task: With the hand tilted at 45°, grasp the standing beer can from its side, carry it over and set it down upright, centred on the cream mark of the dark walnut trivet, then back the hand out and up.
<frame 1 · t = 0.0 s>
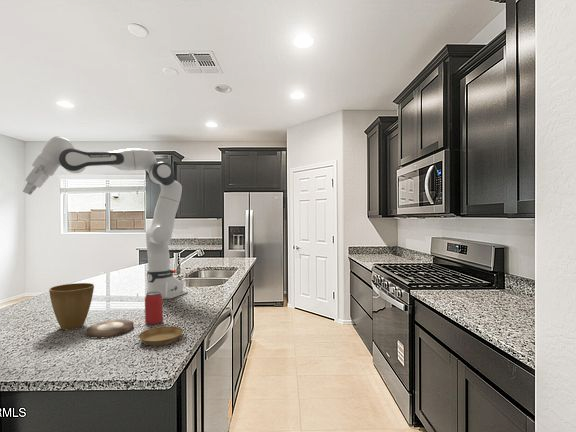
hand: (26, 193, 150), 54 cm above the counter, tool tilted 30°, fingers open, 8 cm apart
plant pot: (73, 327, 131), on the counter
walnut trivet: (110, 330, 127), on the counter
beer can: (154, 323, 135), on the counter
plant saucer: (161, 340, 117), on the counter
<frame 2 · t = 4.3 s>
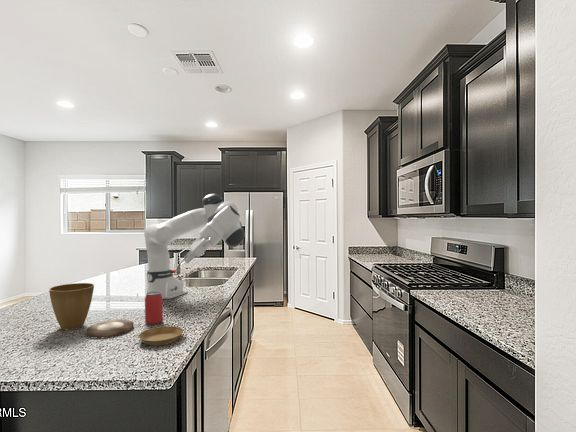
hand: (185, 260, 139), 24 cm above the counter, tool tilted 45°, fingers open, 8 cm apart
nothing on the counter moved.
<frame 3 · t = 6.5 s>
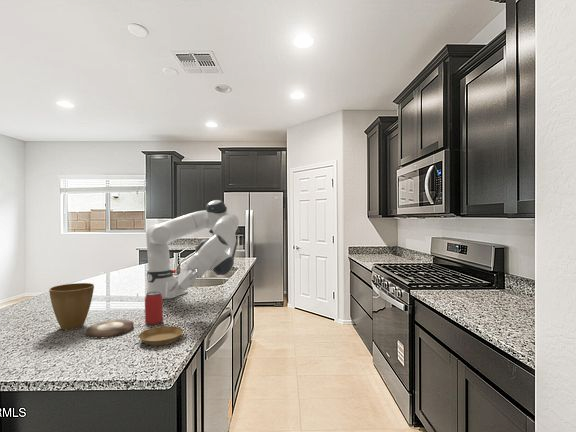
hand: (172, 292, 137), 12 cm above the counter, tool tilted 45°, fingers open, 8 cm apart
nothing on the counter moved.
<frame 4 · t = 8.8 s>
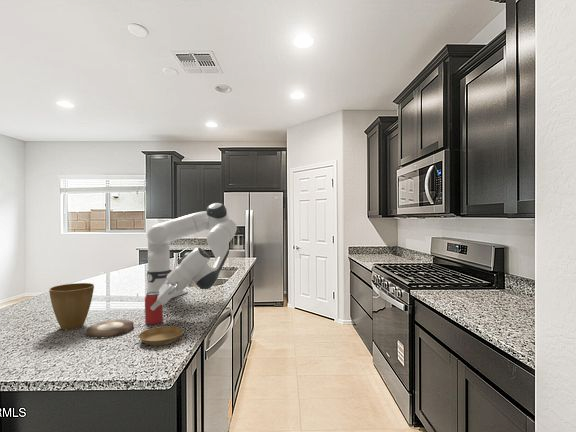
hand: (152, 306, 135), 7 cm above the counter, tool tilted 45°, fingers closed on beer can, 7 cm apart
beer can: (154, 323, 135), on the counter, touching gripper
everything else where it was.
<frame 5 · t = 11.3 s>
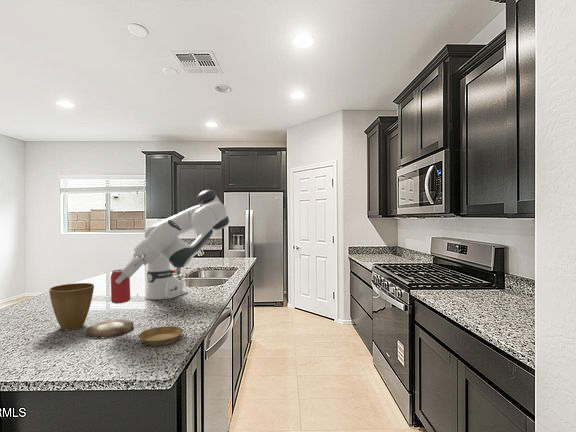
hand: (118, 280, 128), 19 cm above the counter, tool tilted 45°, fingers closed on beer can, 7 cm apart
beer can: (121, 302, 128), point 10 cm above the counter, touching gripper
everything else where it was.
when the fingers open (10 cm above the counter, at t = 13.9 s): beer can stays where it is, resting on walnut trivet.
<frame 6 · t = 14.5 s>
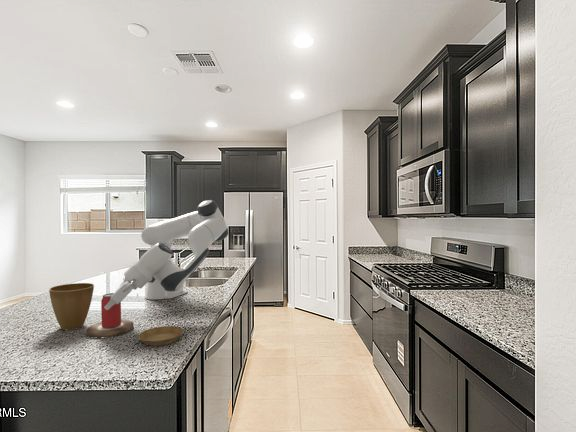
hand: (108, 305, 126), 10 cm above the counter, tool tilted 45°, fingers open, 8 cm apart
beer can: (111, 326, 127), point 1 cm above the counter, touching walnut trivet
everything else where it was.
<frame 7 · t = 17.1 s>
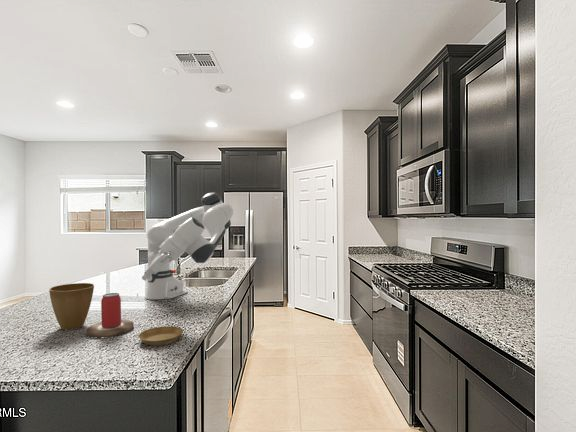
hand: (144, 276, 130), 19 cm above the counter, tool tilted 45°, fingers open, 8 cm apart
nothing on the counter moved.
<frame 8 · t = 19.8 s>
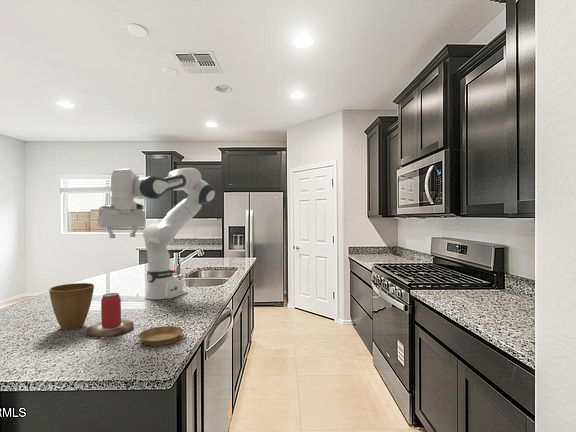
hand: (122, 237, 145), 34 cm above the counter, tool pointing down, fingers open, 8 cm apart
nothing on the counter moved.
at the end: beer can 0.4 cm off-centre on the walnut trivet, point 1.4 cm above the walnut trivet's base; beer can tilted 0°; the gripper is holding nothing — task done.
